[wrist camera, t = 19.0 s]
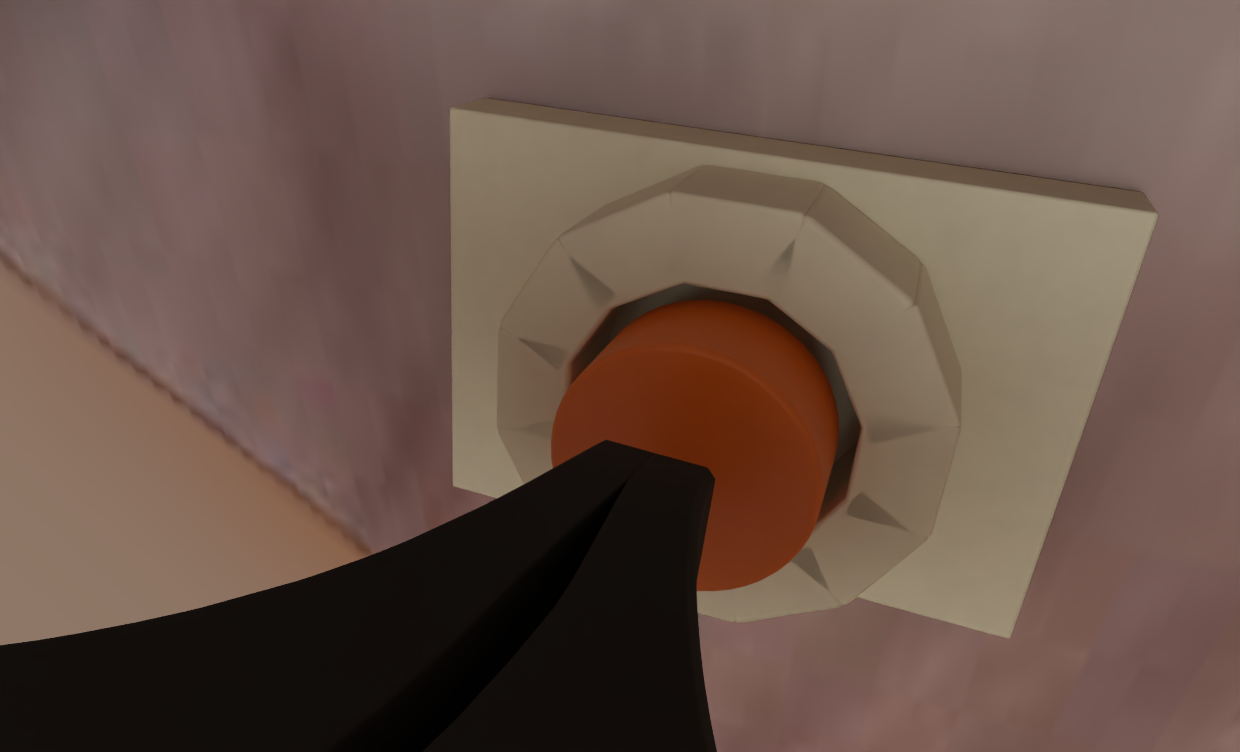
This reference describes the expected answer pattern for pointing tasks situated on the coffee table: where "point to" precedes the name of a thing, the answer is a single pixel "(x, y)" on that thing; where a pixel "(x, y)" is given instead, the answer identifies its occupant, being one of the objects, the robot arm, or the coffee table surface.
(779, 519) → the button
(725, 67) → the coffee table surface
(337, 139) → the coffee table surface
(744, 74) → the coffee table surface
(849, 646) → the coffee table surface
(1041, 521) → the switch block
